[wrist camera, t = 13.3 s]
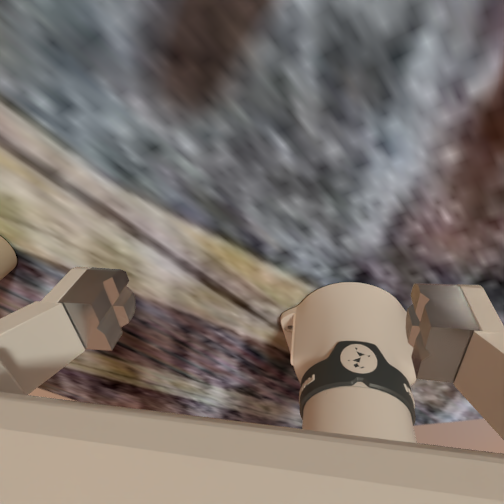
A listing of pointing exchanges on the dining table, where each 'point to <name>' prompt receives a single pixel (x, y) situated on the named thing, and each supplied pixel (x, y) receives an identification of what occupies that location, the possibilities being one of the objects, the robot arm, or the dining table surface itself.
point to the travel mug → (6, 258)
